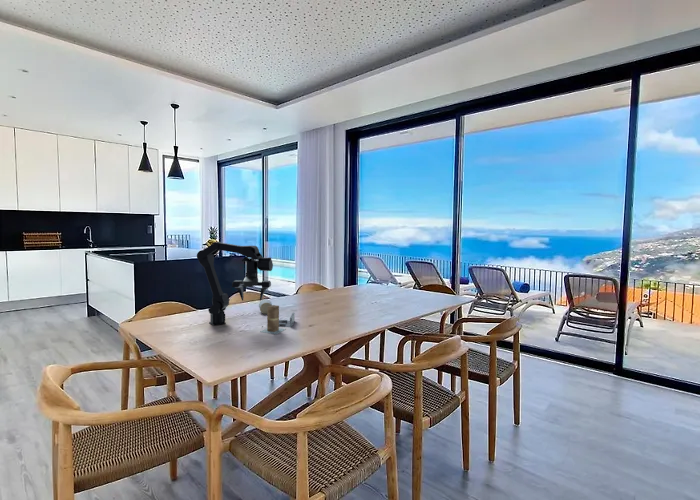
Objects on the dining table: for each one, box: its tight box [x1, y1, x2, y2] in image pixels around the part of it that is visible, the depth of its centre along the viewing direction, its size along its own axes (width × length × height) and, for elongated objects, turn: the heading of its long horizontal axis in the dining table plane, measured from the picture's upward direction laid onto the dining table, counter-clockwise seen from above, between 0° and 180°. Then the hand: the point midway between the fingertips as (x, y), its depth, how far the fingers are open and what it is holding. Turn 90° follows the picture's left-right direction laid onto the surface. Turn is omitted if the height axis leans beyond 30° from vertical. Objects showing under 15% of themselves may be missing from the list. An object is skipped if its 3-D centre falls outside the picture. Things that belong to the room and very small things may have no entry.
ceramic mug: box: [258, 298, 273, 315], centre depth 218 cm, size 11×8×8 cm
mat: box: [260, 327, 286, 335], centre depth 181 cm, size 9×9×1 cm
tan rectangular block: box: [266, 304, 280, 332], centre depth 180 cm, size 4×4×12 cm
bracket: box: [279, 312, 296, 328], centre depth 193 cm, size 8×12×5 cm
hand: (251, 300), depth 190 cm, fingers open, 9 cm apart
